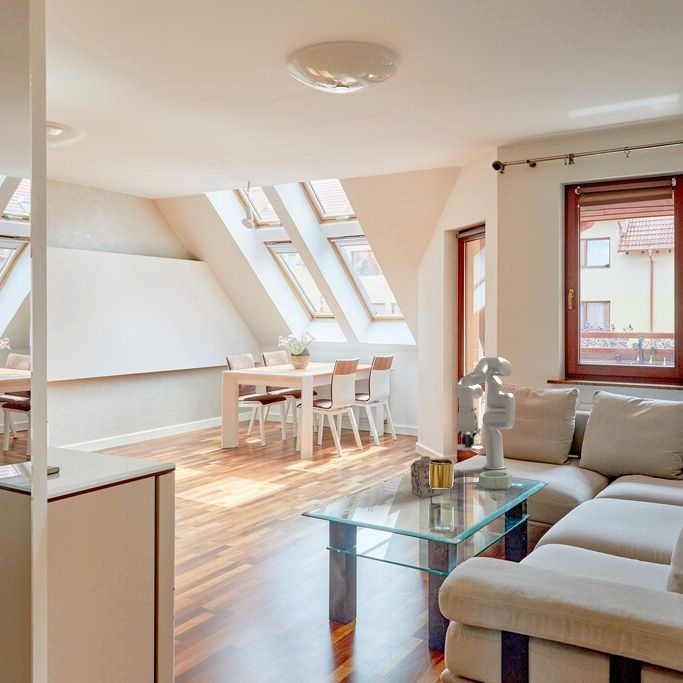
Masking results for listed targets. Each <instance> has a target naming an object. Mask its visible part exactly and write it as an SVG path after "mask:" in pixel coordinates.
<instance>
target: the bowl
mask: <svg viewBox="0 0 683 683" xmlns="http://www.w3.org/2000/svg"><path fill="white" fill-rule="evenodd" d="M478 477H479V484H478V485H479V487H482V488H483V489H493V490H494V489H495V490H499V489H501V490H508V489H510V488H511V486H512V487H513V479H512V477H513V476H512V473H510V472H508V471H502V470H501V471H497V470H489V471H482V472H480V473H479V474H478Z"/></svg>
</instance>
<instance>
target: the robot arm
mask: <svg viewBox="0 0 683 683" xmlns="http://www.w3.org/2000/svg"><path fill="white" fill-rule="evenodd" d="M512 373H513V366H512V363H511V362H510V361H509V360H507V359H505V358H502V357H497V356H495V357H492V356H491V357H488V356H487V357H483V358H480V360H478V363H477V364H476V366H475V368H474V369H473V371H471V372H469V373H468V374H466V375H464V376H463V377H461V378H460V379H459V381H458V382H457V384H456V386H455V389H454V393H455V394H454V395H455V396H456V397H457V398H458V412H457V417H456V418H457V419H456V420H457V421H456V428H455V433H456V434H458V435H459V436H460V437H461V444H463V445H465V434H466V432H467V433H469V434H470V446H472V445H473V444H475V440H474V439H475V437H476V435H477V434H480V433H481V431H480V429H479V423H478V416H477V413H476V412H475V411H476V410H477V408H476V407H475V406H474V399H479V398H481V397H482V395H483V392H484V391H483V387H482V386H481V384H484V383H486V385H487V390H486V393H487V394H486V406H487V408H488V409H489V410H494V411H487V412H484V413H483V416H482V423H483V429H484V437H485V440H484V441H485V442H484V443H485V455H486V456H485V457H486V458H485V459H486V460H485V461H486V464H484V465H483V468H484V469H486V470H492V471H497V470H504V469H507V467H508V466H507V464H504V462H505V458H504V445H503V444H504V442H503V439H504V438H503V435H502V432H501V431H500V430H511V429H513V427H514V426H515V422H516V421H515V418H516V398H515V396H514V394H513V393H509V392H504V384H503V382H502V381H501V379H500V378H499V377H509V376H511V375H512ZM495 410H499V411H495Z"/></svg>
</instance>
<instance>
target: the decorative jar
mask: <svg viewBox="0 0 683 683" xmlns="http://www.w3.org/2000/svg"><path fill="white" fill-rule="evenodd" d="M431 458H432V457H431V456H427V455H423V456H421V457H420V459H417V460H415V461H413V462H412V463H411V465H410V482H411V493H412V494H414V495H415V496H416V495H417V496H419V497H421V498H428V497H435V496H440V495H444V488H443V489H431V488H430V485H429V463H430V461H431V460H432V459H433V458H432V459H431Z"/></svg>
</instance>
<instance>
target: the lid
mask: <svg viewBox="0 0 683 683" xmlns="http://www.w3.org/2000/svg"><path fill="white" fill-rule="evenodd" d="M452 449H453V450H456V451H464V452H465V451H477V450H478V451H479V450H482V449H484V444H479V443H474V444H473V445H472V446H470V433H469V434H466V433H465V445H463V443H461V444H459V443H458V444H455V445H453V446H452Z"/></svg>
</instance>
